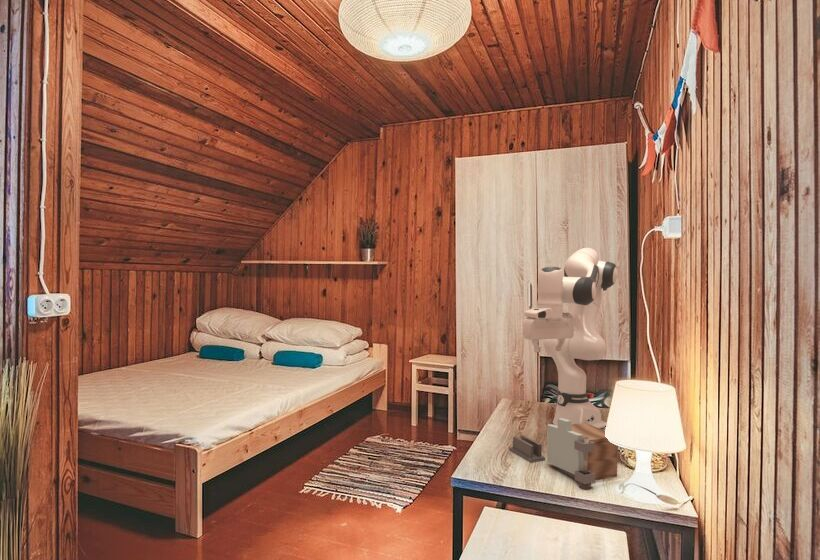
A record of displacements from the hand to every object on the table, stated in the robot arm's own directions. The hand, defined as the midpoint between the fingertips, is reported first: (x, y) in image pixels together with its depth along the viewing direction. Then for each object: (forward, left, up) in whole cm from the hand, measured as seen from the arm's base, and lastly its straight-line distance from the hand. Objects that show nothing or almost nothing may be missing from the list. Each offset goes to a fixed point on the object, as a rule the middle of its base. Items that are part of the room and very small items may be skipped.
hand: (548, 351), depth 173 cm
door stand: (+10, +3, -35) cm, 37 cm away
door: (+8, +22, -34) cm, 41 cm away
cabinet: (+2, +22, -35) cm, 41 cm away
